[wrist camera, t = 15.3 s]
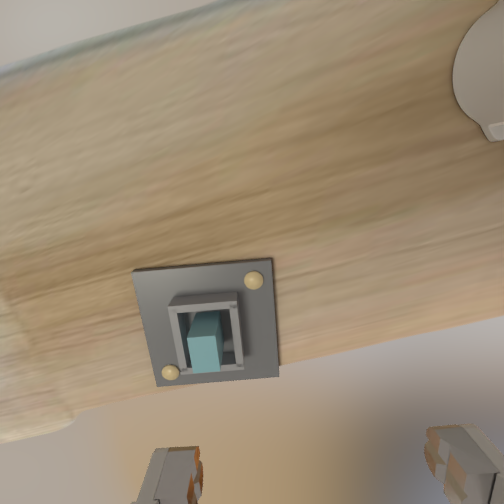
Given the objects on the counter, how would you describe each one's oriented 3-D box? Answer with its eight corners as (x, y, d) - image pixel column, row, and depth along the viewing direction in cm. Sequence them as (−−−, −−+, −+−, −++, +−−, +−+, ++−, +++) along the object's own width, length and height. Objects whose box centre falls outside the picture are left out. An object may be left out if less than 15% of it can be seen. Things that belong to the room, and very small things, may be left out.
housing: (270, 258, 44) (273, 267, 39) (278, 371, 50) (281, 390, 46) (134, 269, 44) (122, 280, 40) (159, 381, 50) (151, 401, 46)
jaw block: (220, 310, 45) (215, 335, 38) (224, 342, 46) (220, 371, 40) (195, 312, 45) (186, 338, 38) (201, 344, 46) (193, 373, 40)
